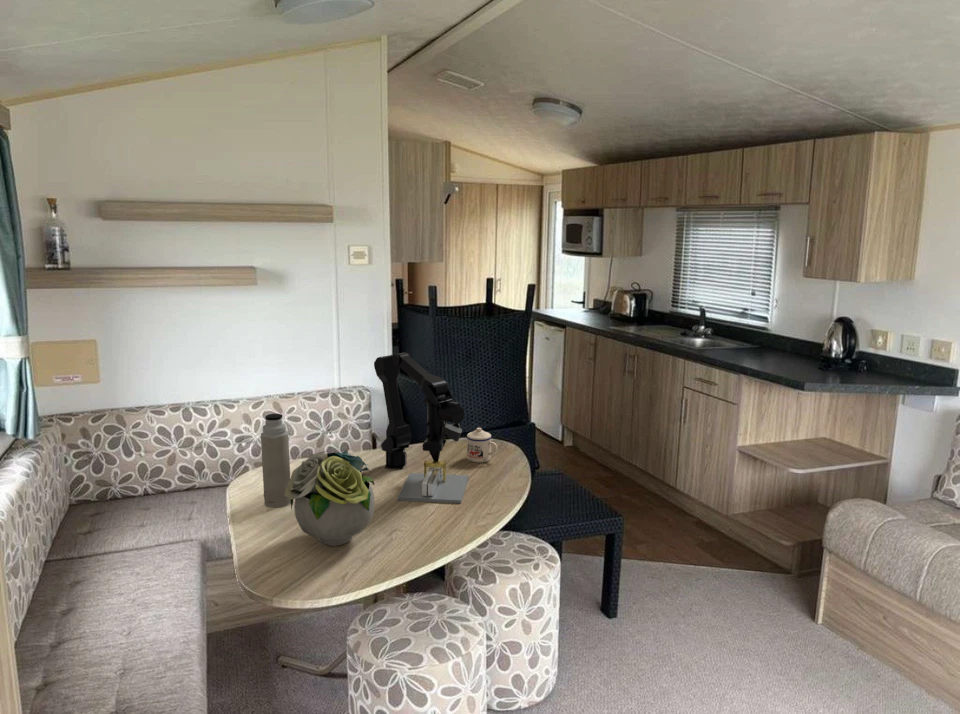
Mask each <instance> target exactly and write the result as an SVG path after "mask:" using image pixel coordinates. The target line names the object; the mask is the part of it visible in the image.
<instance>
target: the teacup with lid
mask: <svg viewBox="0 0 960 714" xmlns="http://www.w3.org/2000/svg"><path fill="white" fill-rule="evenodd" d="M466 440H467V441H466V445H467V446H466V458H467V460H468V461H469V462H471V463H487V462H489V461H490V460H491V456H494V455H495V454H496V453H497V452H498V448H499V447H498V445H497V443H496V442H493V441H492V434H491V433H490V432H487V431H485V430H483V429H482V427H477V428H476V429H475V430H473V431H471V432H469V433H467V435H466ZM492 445H493V446H494V451H493V452H492V447H491V446H492Z"/></svg>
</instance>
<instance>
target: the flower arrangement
mask: <svg viewBox="0 0 960 714" xmlns="http://www.w3.org/2000/svg"><path fill="white" fill-rule="evenodd" d="M327 451H328V450H324V451H319V452H318V451H317V452H316V453H311V454H310V455H309V457H308V458H306V460H302V461H301V464H300V465H299V466H298V467H296V468H295V469H294V470H293V471H292V473H291V474H290V481H289V484H288V486H287V488H286V490H285V494H284V496H286V497H289V498H290V502H291V503H290V509H291V510H290V511H291V512H292V511H293V507H294V517H295V519H296V522H297V523H298V525H299V527H300V529H301V530H302V532H304V533H306V534H307V535H309V536H311V537H313V538H315V539H318V540H319V541H320V542H321V543H322V544H323V545H326V546H331V547H332V546H333V547H334V546H335V547H337V546H341V545H344V544H347V543H349V542H350V541H351V540H353V537H354V536H356V535H358V534H360V533H361V532H362V531H363V530H364V529H366V527H368V525H369V524H371V522H372V519H373V516H374V512H375V494H374V490H373V486H375V481H374V479H373V478H372V477H369V476H365V475H362V472H367V471H369V470H370V469H369V467H368V464H366V462H365V461H363V459H362V458H361V456H359V455H352V454H349V451H348V450H347V449H345V450H344V451H343V450H341V452H327ZM364 466H365V467H364ZM362 467H363V468H362ZM361 468H362V469H361ZM369 482H370V483H371V484H372V485H373V486H371V484H370V483H369ZM294 500H295V501H294ZM293 505H294V506H293Z"/></svg>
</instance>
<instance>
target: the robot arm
mask: <svg viewBox="0 0 960 714" xmlns="http://www.w3.org/2000/svg"><path fill="white" fill-rule="evenodd" d="M373 366H374V370H375V371H374V372H375V374H376V377H377V378H378V379H379V380H380V382H381V383H382V389H383V395H384V399H385V400H384V401H385V405H386V406H385V407H386V412H387V418H388V426H387V428H386V430H385V433H386V434H385V435H386V437H385V439H384V440H383V441H382V443H381V444H380V446H381V450H382V451H383V452H385V466H384V469H399V470H400V469H401V470H402V469H404V468H405V466H406V465H407V460H408V459H407V455H408V454H407V452H406V449H407V448H409V447H410V444H411V441H412V436H413V434H412V429H411V425H410V424H407V423H406V421H404V417H403V416H404V415H403V410H402V406H401V404H402V403H401V399H400V398H401V397H400V392H399V386H398V381H397V379H398V377H399V375H400V368H401V370H402V371H404V372H405V374H407V375H408V376H409V377H410V378H412V380H413V381H415V383H417V384H418V385H419V386H420V391H421V393H422V394H423V395H424V396H425V398H424V399H423V400H422V403H423V404H426V405H427V408H426V409H427V410H426V411H427V412H426V413H427V416H426V417H427V421H426V424H425V425H426V426H427V433H426V439H425V440H424V442H423V443H422V451H423V452H429V454H430V457H431V459H432V461H440V455H441V451H443V449H444V447H445V445H446V442H447V439H446V438H448V439H450V440H452V441H454V442H459V439H460V437H461V435H462V432H463V429H462V428H461V426H460V424H461V423H462V421H463V420H464V419H465V418H464V417H465V411H464V409H463V407H462V406H461V405H460V402H459V401H458V402H457V401H455V398H454V395H453V394H452V391H451V389H450V386H448V383H447V381H446V380H444V379H443V378H442V377H440V376H438V375H434V374H431V373H429V371H427V369H425V368H424V367H422V365H420V364H419V363H418V362H417V361H416V360H414V359H413V358H412V357H411V355H410V353H408V352H406V351H405V352H401V353H400V352H399V353H395V354H389V355H383V356H379V357H376V358H375V360H374V361H373ZM449 423H451V424H449Z"/></svg>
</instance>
